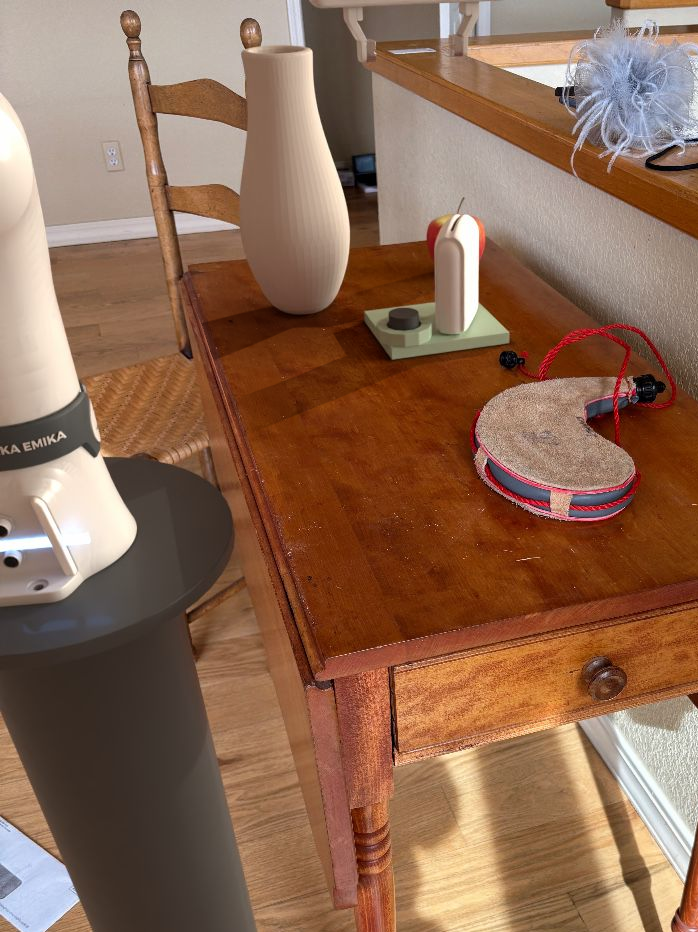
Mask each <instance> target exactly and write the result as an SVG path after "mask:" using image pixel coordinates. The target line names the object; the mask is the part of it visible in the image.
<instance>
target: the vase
mask: <svg viewBox="0 0 698 932" xmlns="http://www.w3.org/2000/svg"><path fill="white" fill-rule="evenodd" d="M313 53H314V52H313V50H312V49H311V48H310V47H307V46H303V45H293V44H291V45H289V44H288V45H287V44H282V45H281V44H279V45H277V44H276V45H275V44H274V45H261V46H260V45H259V46H254V47H248V48H245V49H243V50H242V51H241V53H240V56H241V60H242V61H241V62H242V67H243V72H244V78H245V86H246V96H247V97H246V98H247V124H246V125H247V127H246V137H245V149H244V157H243V161H242V162H243V163H242V169H241V177H240V187H239V201H238V222H239V232H240V239H241V243H242V248H243V252H244V255H245V258H246V261H247V263H248V267H249V269H250V271H251V273H252V275H253V278H254V279H255V281H256V284H257V286H259V289H260V290H261V292H262V293H263V295H264V297H265V298H266V299H267V300H268V301H269V303H270V304H271V305H272V306H274V307H275V308H277V309H278V310H279V311H281V312H284V313H286V314H291V315H298V316H299V315H300V316H301V315H311V314H315V313H318V312H322V311H323V310H324V309H326V308H328V307H329V306H330V305H331V304H332V303H333V302H334V300H335V299H336V297H337V295H338V293H339V291H340V288H341V286H342V283H343V280H344V277H345V274H346V270H347V267H348V262H349V255H350V243H351V228H350V219H349V211H348V206H347V201H346V198H345V194H344V190H343V187H342V183H341V180H340V177H339V174H338V171H337V168H336V165H335V162H334V159H333V157H332V153H331V150H330V148H329V144H328V142H327V141H328V140H327V138H326V135H325V131H324V129H323V125H322V121H321V118H320V113H319V110H318V104H317V98H316V90H315V84H314V83H315V82H314V55H313Z"/></svg>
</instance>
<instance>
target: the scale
mask: <svg viewBox="0 0 698 932" xmlns="http://www.w3.org/2000/svg"><path fill="white" fill-rule="evenodd" d="M396 308H412V309H415V310H417V311H418V312H419V327H418V328H416V329H413V330H407V331H401V330H393V329H390V328H389V312H390V311H391V310H393V309H396ZM363 317H364V324H366V325H367V327H368V328H369V329H370V331H371V333H372V334H373V336H374V337H375V338H376V340H377V341H378V342H379V344H380V345H381V347H382V348H383V349H384V351H385V352H386V354H387V356H389V358H390V359H391V360H392V361H393V360H398V359H399V360H400V359H406V358H413V357H421V356H422V357H423V356H428V355H435V354H436V355H437V354H441V353H442V354H443V353H448V352H456V351H464V350H470V349H471V350H472V349H478V348H484V347H493V346H499V345H507V344H510V332H509V330H508V329H507V328H505V327H504V325H502V324H501V323H500V322H499V321H498V319H496V317H494V316H493V315H492V314H491V313H490V312H489V311H488V310H487V309H486V307H484V306H483V305H482V304H481V303H480V302H479V301H478V308H477V312H476V314H475V316H474V318H473V320H472V322H471V323H470V325H469V327H468V328H467V330H466V331H464V332H461V333H460V334H444V333H441V332H440V331H439V330H437V329H436V319H435V301H434V302H426V303H419V304H410V305H403V306H394V307H386V308H379V309H371V310H364V311H363Z"/></svg>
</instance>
